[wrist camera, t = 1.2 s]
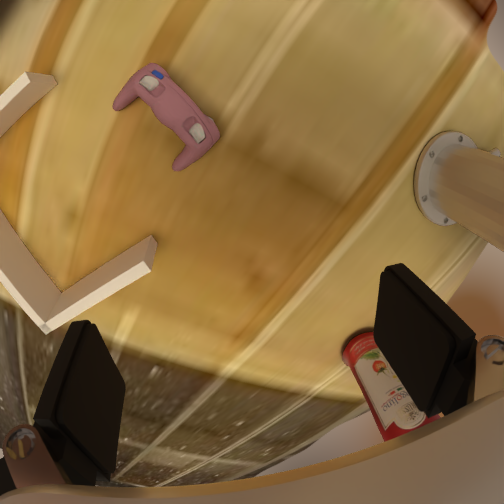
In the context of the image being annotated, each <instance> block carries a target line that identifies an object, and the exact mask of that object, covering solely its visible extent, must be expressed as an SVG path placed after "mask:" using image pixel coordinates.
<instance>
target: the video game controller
mask: <svg viewBox="0 0 504 504" xmlns="http://www.w3.org/2000/svg"><path fill="white" fill-rule="evenodd" d="M137 97H140V98H141V99H142V100H143V101H144V102H145V103H147V104H148V105H149V106H150V107H151V109H152V111H153V112H154V114H155V116H156V117H157V118H158V120H159V121H160V122H161V123H162V124H164V125H165V126H167V127H169V128H170V129H172V130H173V131H174V132H175V133H176V134H177V135H178V136H179V138H180V139H181V140H182V141H183V142H184V143H185V144H186V146H185V148H184V149H183V151H182V152H181V153H180V154H179V155H178V156H177V158H176V159H175V160H174V162H173V165H172V169H173V170H174V171H181V170H183V169H185V168H186V167H188V166H189V165H190V164H192V163H193V162H195V161H196V160H198V159H199V158H200V157H202V156H203V155H204V154H205V153H206V152H207V151H208V150H209V149H210V148H211V147H212V146H213V145H214V144H215V142H216V141H217V140H218V139H219V138H220V133H219V130H218V128H217V126H216V125H215V122H214V120H213V119H212V118H210V117H208V116H206V115H205V114H203V113H202V111H201V110H200V109H199V108H198V106H197V105H196V104H195V103H194V102H193V101H192V99H191V98H190V97H189V96H188V95H187V94H186V93H185V92H184V91H183V90H182V89H181V88H180V87H179V86H178V85H177V84H175V83H174V82H173V81H172V80H171V78H170V76H169V75H168V73H167V72H166V71H165V70H164V69H163V68H162V67H161V66H159V65H157V64H155V63H149V64H148V65H146V66H145V67H143V68H142V69H140V70H138V71H137V72H136V73H135V74H134V75H133V76H132V77H131V78H130V79H129V80H128V82H127V83H126V84H125V86H124V87H123V88H122V90H121V91H120V93H119V94H118V95H117V97H116V98H115V100H114V103H113V109H114V110H115V111H119V110H121V109H123V108H124V107H126V106H127V105H128V104H130V103H131V102H132V101H134V100H135V99H136V98H137Z"/></svg>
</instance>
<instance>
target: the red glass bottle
mask: <svg viewBox="0 0 504 504" xmlns="http://www.w3.org/2000/svg"><path fill="white" fill-rule="evenodd" d="M342 359H343V362H344V364H346V365H347V366H349V367H350V368H351V370H352V372H353V374H354V376H355V378H356V380H357V382H358V384H359V386H360V388H361V390H362V393H363V395H364V397H365V399H366V401H367V403H368V405H369V408H370V410H371V412H372V415H373V417H374V419H375V422H376V424H377V426H378V429H379V431H380V433H381V435H382V437H383V439H384V441H385V442H386V441H388V440H391V439H393V438H396V437H398V436H401V435H403V434H406V433H408V432H410V431H413V430H415V429H417V428H420V427H422V426H424V425H426V424H429V423H431V422H433V421H435V420H438V419H440V418H441V417H440V416H439V415H438V414H437V415H435V416H432V417H430V418H428V417H427V416H426V414H425V413H424V412H421V411H419V410H418V408H417V407H416V405H415V403H414V402H413V400H412V399H411V397H410V396H409V394H408V392H407V391H406V389H405V388H404V386H403V385H402V383H401V381H400V380H399V378H398V377H397V375H396V374H395V372H394V371H393V369H392V368H391V366H390V364H389V363H388V361H387V360H386V358H385V357H384V355H383V354H382V352H381V351H380V349H379V348H378V346H377V345H376V343H375V341H374V337H373V332H368V333H363V334H359V335H357V336H356V337H354V338H353V339H352V340H351V341H350V342H349V343H348V345H347V347H346V348H345V350H344V352H343V356H342Z"/></svg>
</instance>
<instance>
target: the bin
mask: <svg viewBox="0 0 504 504" xmlns="http://www.w3.org/2000/svg"><path fill="white" fill-rule="evenodd" d="M56 85H57V82H56V81H55V79H54V77H53V75H46V74H39V73H32V72H24V73H23V74H22V75H21V76H20V77H19V78H18V79H17V80H16V81H15V82H14V83H13V84H12V85H11V86H10V87H9V88H8V89H7V90H6V91H5V92H4V93H3V94H2V95H1V96H0V137H1V136H2V135H3V134H4V133H5V132H6V131H7V130H8V129H9V128H10V127H11V126H12V125H13V124H14V123H15V122H16V121H17V120H18V119H19V118H20V117H21V116H22V115H23V114H24V113H25V112H26V111H27V110H28V109H30V108H31V107H32V106H33V105H34V104H35V103H36V102H37V101H38V100H40V99H41V98H42V97H43V96H44V95H45V94H46V93H48V92H49V91H50V90H51V89H52V88H54V87H55V86H56ZM156 248H157V242H156V241H155V239H154V238H153V236H152V235H150V236H148V237H147V238H145V239H144V240H142V241H140V242H139V243H137V244H135V245H134V246H132V247H131V248H129V249H127V250H126V251H124V252H123V253H121V254H120V255H118V256H116V257H115V258H113V259H112V260H110V261H109V262H107V263H106V264H104V265H102V266H101V267H99V268H98V269H96V270H95V271H93V272H92V273H90V274H89V275H87V276H86V277H84V278H83V279H81V280H80V281H78V282H77V283H75V284H74V285H72V286H71V287H69V288H68V289H67V290H65V291H64V292H62V293H61V292H60V290H59V289H58V288H57V287H56V286H55V284H54V283H53V282H52V281H51V279H50V278H49V277H48V276H47V274H46V273H45V272H44V270H43V269H42V268H41V267H40V265H39V264H38V263H37V261H36V260H35V259H34V257H33V256H32V255H31V253H30V252H29V251H28V249H27V248H26V246H25V245H24V244H23V242H22V241H21V239H20V238H19V236H18V235H17V234H16V232H15V231H14V229H13V228H12V226H11V225H10V223H9V222H8V220H7V219H6V217H5V216H4V214H3V212H2V211H1V209H0V281H1V283H2V284H3V285H4V287H5V288H6V289H7V290H8V292H9V293H10V294H11V295H12V297H13V298H14V299H15V300H16V301H17V303H18V304H19V305H20V306H21V307H22V309H23V310H24V311H25V312H26V313H27V314H28V316H29V317H30V318H31V319H32V320H33V321H34V322H35V323H36V325H37V326H38V327H39V328H40V329H41V330H42V331H43V332H44V333H45V334H48V333H50V332H51V331H53V330H54V329H56V328H58V327H59V326H61V325H62V324H64V323H66V322H67V321H69V320H70V319H72V318H74V317H75V316H77V315H79V314H80V313H82V312H84V311H85V310H87V309H88V308H90V307H92V306H93V305H95V304H97V303H98V302H100V301H102V300H103V299H105V298H107V297H108V296H110V295H112V294H113V293H115V292H117V291H118V290H120V289H122V288H123V287H125V286H127V285H128V284H130V283H132V282H134V281H135V280H137V279H139V278H140V277H142V276H144V275H145V274H147V273H149V272H151V270H152V265H153V261H154V257H155V252H156Z"/></svg>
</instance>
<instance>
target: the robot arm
mask: <svg viewBox="0 0 504 504" xmlns="http://www.w3.org/2000/svg"><path fill="white" fill-rule="evenodd" d="M414 191H415V197H416V201H417V204H418V207H419V209H420V210H421V212H422V213H423V215H424V216H425V217H426V218H427V219H428V220H430V221H432V222H433V223H435V224H438V225H441V226H448V225H453V224H455V223H458V224H460V225H462V226H463V227H465V228H467V229H468V230H470V231H472V232H473V233H475V234H476V235H478V236H480V237H481V238H483V239H484V240H486V241H487V242H489V243H491V244H492V245H494V246H495V247H497V248H498V249H500V250H501V251H503V252H504V158H502V157H500V151H499V150H498V149H497V148H494V149H492V150H491V151H489V152H487V151H484V150H480V149H478V148H477V146H476V144H475V143H474V142H473V140H472V139H471V138H469V137H468V136H467V135H465V134H463V133H460V132H456V131H446V132H442V133H440V134H438V135H436V136H435V137H434V138H433V139H431V140H430V141H429V143H428V144H427V145H426V146H425V148H424V150H423V151H422V153H421V155H420V158H419V160H418V163H417V167H416V171H415V178H414ZM475 335H476V334H475V333H474V331H473V330H472V329H471V328H470V327H469V326H468V325H467V324H466V323H465V322H464V321H463V320H462V319H461V318H460V317H459V316H458V315H457V314H456V313H455V312H454V311H453V310H452V309H451V308H450V307H449V306H448V305H447V304H446V303H445V302H444V301H443V300H442V299H441V298H440V297H439V296H438V295H436V294H435V293H434V292H433V291H432V290H431V289H430V288H429V287H428V286H427V285H426V284H425V283H424V282H423V281H422V280H421V279H419V278H418V277H417V276H416V275H415V274H414V273H413V272H412V271H411V270H410V269H409V268H407V267H406V266H405V265H404V264H403V263H399V264H395V265H390V266H387V267H386V268H385V270H384V272H382V273H381V276H380V284H379V294H378V302H377V310H376V318H375V325H374V332H373V337H374V341H375V343H376V345H377V346H378V348H379V349H380V351H381V352H382V354H383V355H384V357H385V358H386V360H387V361H388V363H389V364H390V366H391V368H392V369H393V371H394V372H395V374H396V375H397V377H398V378H399V380H400V381H401V383H402V385H403V386H404V388H405V389H406V391H407V392H408V394H409V396H410V397H411V399H412V400H413V402H414V403H415V405H416V407H417V408H418V410H419V411H421V412H424V413H425V414H426V416H427V417H428V418H430V417H432V416H435V415H437V414H439V413H441V412H442V413H443V414H444V417H442V418H440V419H438V420H435V421H433V422H431V423H429V424H426V425H424V426H422V427H420V428H417V429H415V430H413V431H410V432H408V433H406V434H403V435H401V436H398V437H396V438H393V439H391V440H388V441H386V442H383V443H380V444H378V445H375V446H372V447H369V448H366V449H364V450H361V451H358V452H355V453H351V454H348V455H345V456H342V457H338V458H335V459H332V460H328V461H325V462H321V463H317V464H314V465H310V466H306V467H302V468H298V469H294V470H289V471H285V472H280V473H275V474H270V475H265V476H259V477H254V478H247V479H241V480H234V481H227V482H219V483H210V484H200V485H188V486H172V487H100V486H95V483H96V481H106V482H110V476H111V473H114V471H115V466H116V456H117V447H118V439H119V431H120V423H121V416H122V409H123V402H124V396H125V382H124V380H123V378H122V376H121V374H120V372H119V370H118V368H117V367H116V365H115V363H114V361H113V359H112V357H111V355H110V353H109V351H108V349H107V347H106V345H105V343H104V341H103V339H102V337H101V335H100V332H99V330H98V328H97V326H96V325H95V324H91V322H90V321H89V320H82V321H74V322H72V323H71V324H70V326H69V329H68V331H67V333H66V335H65V338H64V340H63V342H62V344H61V347H60V349H59V351H58V354H57V356H56V359H55V361H54V363H53V366H52V368H51V371H50V373H49V376H48V379H47V381H46V384H45V386H44V389H43V392H42V395H41V397H40V400H39V403H38V406H37V409H36V412H35V415H34V418H33V419H34V420H35V422H34V425H33V426H31V425H28V424H22V425H18V426H16V427H14V428H13V429H12V430H10V431H9V432H8V434H7V435H6V436H5V439H4V441H3V447H2V449H3V455H4V457H3V458H1V459H0V504H504V338H503V337H500V336H497V335H488V336H484V337H483V338H481V339H480V340H479V342H477V340H476V339H475Z"/></svg>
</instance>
